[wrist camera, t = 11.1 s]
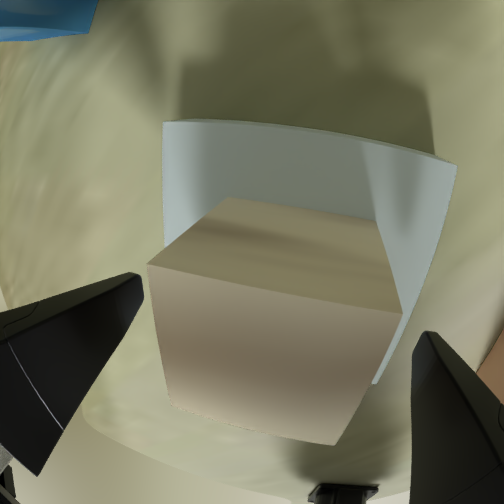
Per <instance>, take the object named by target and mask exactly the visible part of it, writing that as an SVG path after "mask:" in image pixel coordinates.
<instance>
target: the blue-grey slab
mask: <svg viewBox="0 0 504 504" xmlns="http://www.w3.org/2000/svg"><path fill="white" fill-rule="evenodd" d="M457 167H458V166H457V165H455V164H453V163H451V162H449V161H447V160H445V159H442V158H440V157H438V156H436V155H433V154H429V153H426V152H422V151H419V150H415V149H411V148H407V147H403V146H399V145H395V144H391V143H386V142H382V141H377V140H373V139H368V138H363V137H358V136H353V135H348V134H342V133H336V132H331V131H324V130H318V129H311V128H304V127H297V126H289V125H280V124H271V123H261V122H249V121H236V120H218V119H183V120H173V121H164V122H163V145H162V181H163V219H164V240H165V248H166V247H167V246H168V245H169V244H171V243H172V242H173V241H174V240H175V239H177V238H178V237H179V236H180V235H181V234H183V233H184V232H185V231H186V230H187V229H189V228H190V227H191V226H192V225H193V224H195V223H196V222H197V221H198V220H200V219H201V218H202V217H203V216H205V215H206V214H207V213H208V212H210V211H211V210H212V209H213V208H215V207H216V206H217V205H218V204H220V203H221V202H222V201H223V200H225V199H226V198H227V197H232V198H240V199H247V200H254V201H261V202H268V203H274V204H281V205H287V206H294V207H300V208H306V209H312V210H318V211H324V212H329V213H335V214H340V215H346V216H351V217H357V218H362V219H367V220H372V221H376V223H377V226H378V229H379V232H380V235H381V238H382V241H383V244H384V247H385V250H386V254H387V257H388V260H389V263H390V267H391V270H392V274H393V277H394V281H395V285H396V288H397V292H398V296H399V300H400V304H401V308H402V312H403V316H402V318H401V321H400V323H399V325H398V328H397V330H396V332H395V335H394V337H393V339H392V341H391V344H390V346H389V348H388V350H387V352H386V354H385V356H384V359H383V361H382V363H381V365H380V367H379V369H378V371H377V373H376V375H375V377H374V379H373V381H372V383H371V384H377V382H378V380H379V379H380V377H381V375H382V373H383V371H384V369H385V368H386V366H387V364H388V362H389V360H390V358H391V356H392V354H393V352H394V350H395V348H396V346H397V344H398V342H399V340H400V338H401V335H402V333H403V331H404V329H405V327H406V325H407V322H408V320H409V318H410V316H411V313H412V311H413V309H414V306H415V304H416V301H417V299H418V297H419V294H420V292H421V289H422V286H423V284H424V281H425V279H426V276H427V273H428V270H429V268H430V265H431V262H432V259H433V256H434V253H435V250H436V247H437V244H438V241H439V238H440V234H441V231H442V228H443V224H444V221H445V217H446V214H447V210H448V206H449V202H450V198H451V194H452V190H453V186H454V181H455V177H456V172H457Z"/></svg>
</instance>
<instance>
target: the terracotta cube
mask: <svg viewBox="0 0 504 504" xmlns="http://www.w3.org/2000/svg"><path fill="white" fill-rule="evenodd" d="M476 374H477V375H478V376H479V378H480V379H481V380H482V381H483V382H484V383H485V384H486V385H487V386H488V388H489V389H490V390H491V391H492V392H493V393H494V394H495V395H496V397H497V398H498V399H499V400H500V403H503V405H504V329H503V331H502V332H501V334H500V336H499V338H498V339H497V341H496V343H495V345H494V346H493V348H492V349H491V351H490V353H489V354H488V356H487V357H486V359H485V361H484V362H483V364H482V365H481V367H480V368H479V370H478V371H477V373H476Z"/></svg>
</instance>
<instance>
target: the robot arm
mask: <svg viewBox="0 0 504 504" xmlns="http://www.w3.org/2000/svg"><path fill="white" fill-rule="evenodd" d="M143 300H144V291H143V285H142V278H141V276H140V275H139V274H136V273H132V272H128V273H124V274H121V275H118V276H115V277H112V278H108V279H105V280H102V281H99V282H96V283H93V284H90V285H86V286H83V287H80V288H77V289H74V290H71V291H68V292H65V293H62V294H59V295H56V296H52V297H49V298H46V299H43V300H41V301H37V302H34V303H31V304H28V305H25V306H22V307H18V308H15V309H11V310H8V311H4V312H0V504H20V503H19V502H18V501H17V500H16V499H15V497H16V494H15V488H14V481H13V474H12V467H10V466H9V465H8V464H9V463H10V461H11V460H12V459H13V457H14V458H15V459H16V460H17V461H19V462H20V463H21V464H22V465H23V466H24V467H25V468H26V469H28V470H29V471H30V472H31V473H32V474H34V475H35V476H36V477H37V476H38V475H39V474H40V472H41V470H42V469H43V467H44V465H45V463H46V461H47V459H48V458H49V456H50V454H51V452H52V451H53V449H54V447H55V446H56V444H57V442H58V440H59V439H60V437H61V435H62V433H63V432H64V431H63V430H65V428H66V426H67V425H68V423H69V422H70V420H71V418H72V417H73V415H74V413H75V412H76V410H77V408H78V407H79V405H80V404H81V402H82V400H83V399H84V397H85V396H86V394H87V392H88V391H89V389H90V388H91V386H92V384H93V383H94V381H95V380H96V378H97V377H98V375H99V374H100V372H101V371H102V369H103V367H104V366H105V364H106V363H107V361H108V360H109V358H110V357H111V355H112V354H113V352H114V351H115V349H116V348H117V346H118V345H119V343H120V342H121V340H122V339H123V337H124V336H125V334H126V332H127V330H128V328H129V327H130V325H131V323H132V321H133V319H134V317H135V315H136V314H137V312H138V310H139V308H140V306H141V305H142V303H143ZM411 423H412V464H411V486H410V500H409V504H504V405H503V403H500V400H499V399H498V398H497V397H496V395H495V394H494V393H493V392H492V391H491V390H490V389H489V388H488V386H487V385H486V384H485V383H484V382H483V381H482V380H481V379H480V378H479V376H478V375H477V374H476V373H475V372H474V371H473V370H472V369H471V368H470V367H469V366H468V364H467V363H466V362H465V361H464V360H463V359H462V358H461V357H460V356H459V355H458V354H457V353H456V352H455V351H454V350H453V349H452V348H451V347H450V346H449V345H448V344H447V342H446V341H445V340H444V339H443V338H442V337H441V336H440V335H439V334H438V333H437V332H433V331H424V332H423V333H422V335H421V337H420V339H419V341H418V343H417V345H416V347H415V349H414V351H413V354H412V378H411ZM377 492H378V488H376V487H354V486H340V485H330V484H320V485H319V486H318V487H317V489H316V490H315V491H314V492H313V493H312V494H311V495H310V496H309V498H308V502H312V503H314V504H366V500H368V499H369V498H371V497H372V496H373V495H375V494H376V493H377Z"/></svg>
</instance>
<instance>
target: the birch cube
mask: <svg viewBox="0 0 504 504" xmlns="http://www.w3.org/2000/svg"><path fill="white" fill-rule="evenodd" d="M147 270H148V278H149V286H150V293H151V301H152V307H153V314H154V320H155V326H156V332H157V338H158V344H159V349H160V354H161V360H162V365H163V370H164V374H165V379H166V384H167V388H168V393H169V397H170V401H171V405H172V406H173V407H176V408H179V409H182V410H185V411H188V412H190V413H193V414H197V415H200V416H203V417H206V418H209V419H212V420H216V421H219V422H222V423H226V424H229V425H233V426H237V427H240V428H244V429H248V430H252V431H256V432H261V433H265V434H269V435H274V436H279V437H284V438H289V439H294V440H300V441H305V442H311V443H318V444H325V445H332V446H335V444H336V443H337V441H338V440H339V438H340V436H341V435H342V433H343V432H344V430H345V428H346V427H347V425H348V424H349V422H350V420H351V418H352V417H353V415H354V413H355V412H356V410H357V408H358V406H359V405H360V403H361V401H362V399H363V397H364V396H365V394H366V392H367V390H368V388H369V386H370V384H371V383H372V381H373V379H374V377H375V375H376V373H377V371H378V369H379V367H380V365H381V363H382V361H383V359H384V356H385V354H386V352H387V350H388V348H389V346H390V344H391V341H392V339H393V337H394V335H395V332H396V330H397V328H398V325H399V323H400V321H401V318H402V316H403V312H402V308H401V304H400V300H399V296H398V292H397V288H396V285H395V281H394V277H393V274H392V270H391V267H390V263H389V260H388V257H387V254H386V250H385V247H384V244H383V241H382V238H381V235H380V232H379V229H378V226H377V223H376V221H372V220H367V219H362V218H357V217H351V216H346V215H340V214H335V213H329V212H324V211H318V210H312V209H306V208H300V207H294V206H287V205H281V204H274V203H268V202H261V201H254V200H247V199H240V198H232V197H227V198H226V199H225V200H223V201H222V202H221V203H220V204H218V205H217V206H216V207H215V208H213V209H212V210H211V211H210V212H208V213H207V214H206V215H205V216H203V217H202V218H201V219H200V220H198V221H197V222H196V223H195V224H193V225H192V226H191V227H190V228H189V229H187V230H186V231H185V232H184V233H183V234H181V235H180V236H179V237H178V238H177V239H175V240H174V241H173V242H172V243H171V244H169V245H168V246H167V247H166V248H165V249H163V250H162V251H161V252H160V253H159V254H158V255H156V256H155V257H154V258H153V259H152V260H151V261H149V262H148V263H147Z"/></svg>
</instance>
